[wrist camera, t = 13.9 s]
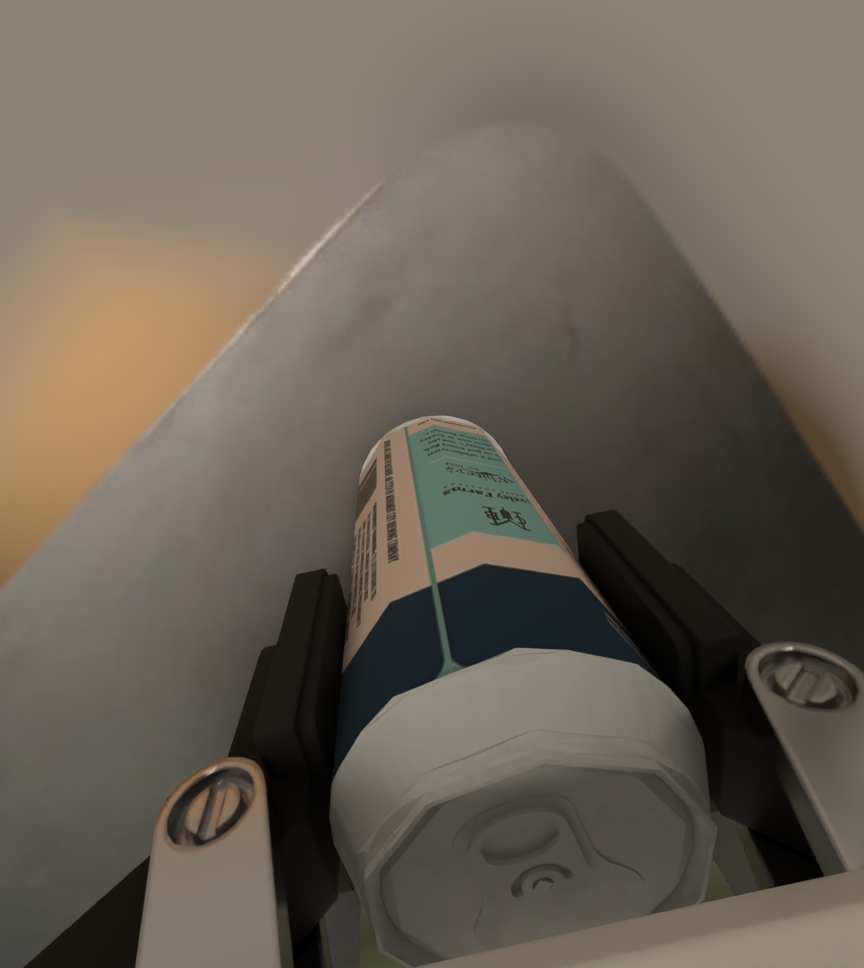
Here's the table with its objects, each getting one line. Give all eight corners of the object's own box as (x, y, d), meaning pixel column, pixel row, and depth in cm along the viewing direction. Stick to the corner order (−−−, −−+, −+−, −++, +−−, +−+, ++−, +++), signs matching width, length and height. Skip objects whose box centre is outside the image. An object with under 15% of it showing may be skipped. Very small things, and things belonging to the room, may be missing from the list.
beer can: (396, 570, 18) (426, 1057, 7) (332, 449, 16) (231, 837, 5) (527, 516, 18) (784, 930, 6) (477, 386, 16) (715, 649, 5)
